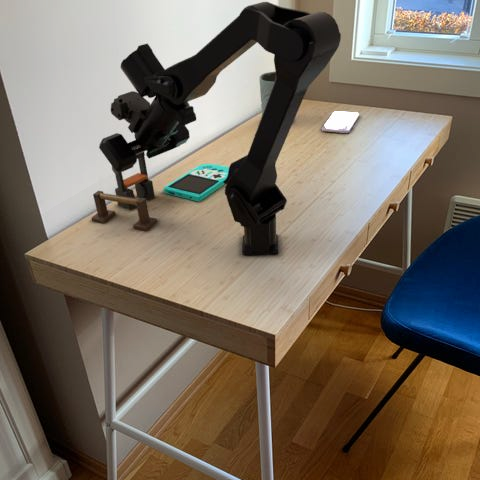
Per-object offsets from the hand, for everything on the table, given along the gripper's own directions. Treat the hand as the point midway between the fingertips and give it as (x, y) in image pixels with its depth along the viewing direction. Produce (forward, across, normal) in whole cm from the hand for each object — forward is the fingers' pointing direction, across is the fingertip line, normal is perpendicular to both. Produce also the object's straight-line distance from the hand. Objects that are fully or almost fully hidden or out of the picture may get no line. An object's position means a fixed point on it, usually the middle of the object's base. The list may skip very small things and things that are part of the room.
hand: (131, 163), depth 107 cm
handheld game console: (+2, -14, +10) cm, 18 cm away
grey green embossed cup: (+9, -57, +3) cm, 58 cm away
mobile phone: (-2, -64, +14) cm, 66 cm away
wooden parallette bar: (+3, +8, +9) cm, 12 cm away
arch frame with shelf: (+6, 0, +6) cm, 9 cm away
